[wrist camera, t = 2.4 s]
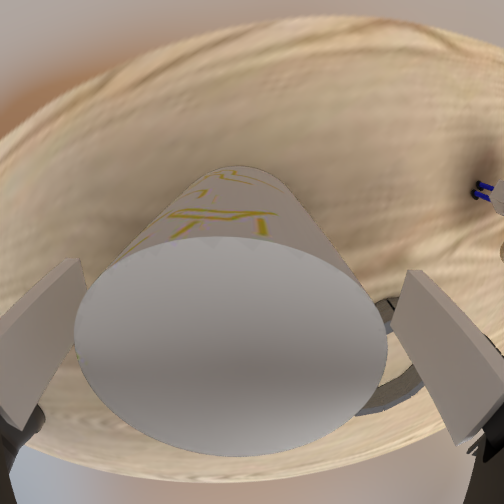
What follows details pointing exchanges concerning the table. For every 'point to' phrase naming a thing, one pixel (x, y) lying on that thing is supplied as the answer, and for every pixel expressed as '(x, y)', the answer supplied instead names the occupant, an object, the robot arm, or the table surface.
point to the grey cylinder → (231, 324)
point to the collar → (400, 386)
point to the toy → (492, 200)
